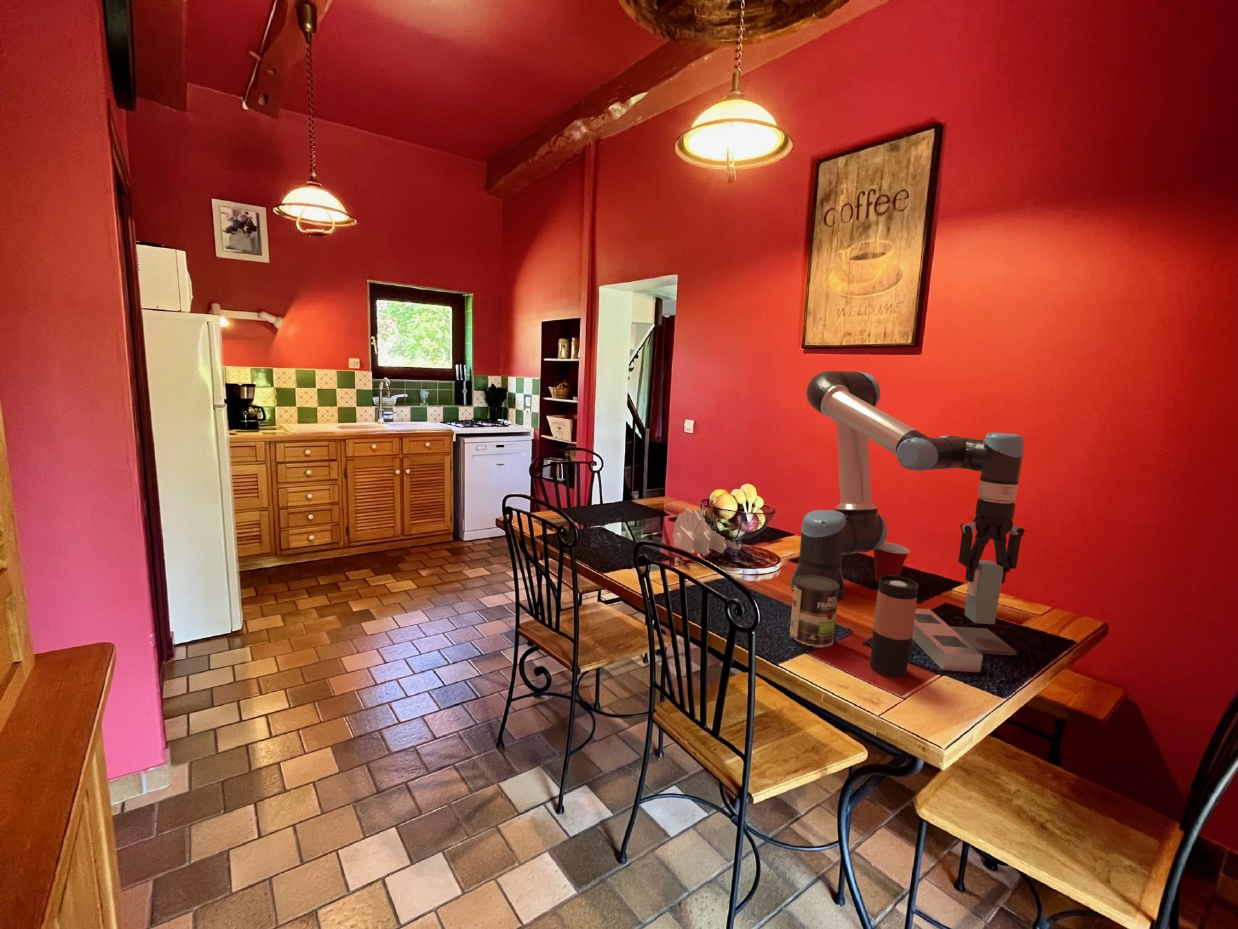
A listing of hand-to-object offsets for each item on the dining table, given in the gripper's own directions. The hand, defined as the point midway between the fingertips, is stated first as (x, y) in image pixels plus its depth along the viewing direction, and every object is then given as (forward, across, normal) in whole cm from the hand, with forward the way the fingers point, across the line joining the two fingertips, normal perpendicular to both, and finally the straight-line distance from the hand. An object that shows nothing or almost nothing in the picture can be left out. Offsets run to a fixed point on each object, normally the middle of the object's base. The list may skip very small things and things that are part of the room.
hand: (982, 594), depth 136 cm
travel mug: (+12, -27, -16) cm, 34 cm away
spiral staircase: (+12, -60, +53) cm, 81 cm away
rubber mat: (+12, 0, 0) cm, 12 cm away
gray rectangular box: (+6, 0, 0) cm, 6 cm away
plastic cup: (+12, -6, +38) cm, 41 cm away
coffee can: (+12, -40, -3) cm, 42 cm away
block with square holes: (+12, -11, -3) cm, 17 cm away
